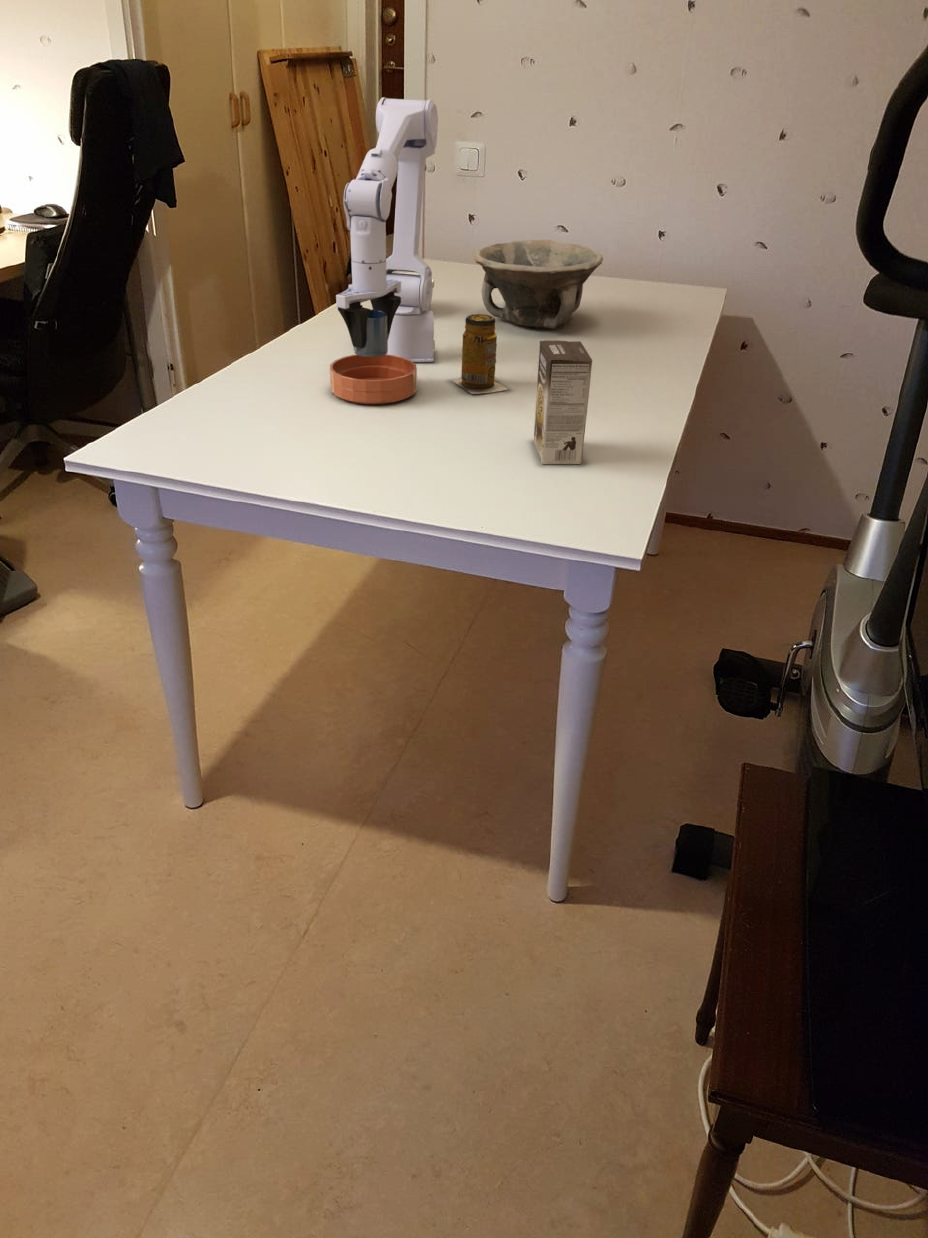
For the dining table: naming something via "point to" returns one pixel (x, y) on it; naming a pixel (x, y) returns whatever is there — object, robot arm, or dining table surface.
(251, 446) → the dining table surface
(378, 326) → the cup
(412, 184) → the robot arm
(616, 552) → the dining table surface
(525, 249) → the bowl
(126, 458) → the dining table surface
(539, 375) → the coffee box
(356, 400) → the clay bowl
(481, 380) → the condiment
